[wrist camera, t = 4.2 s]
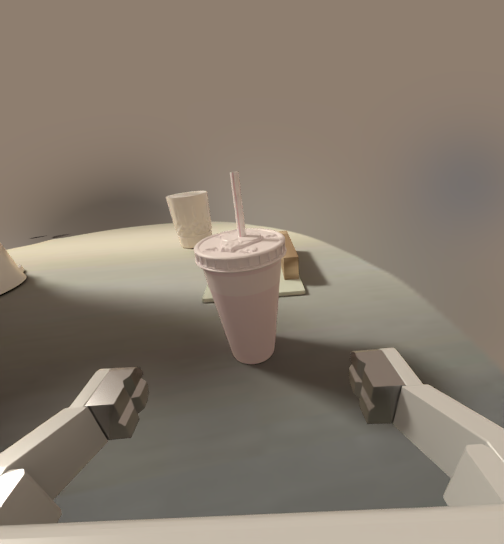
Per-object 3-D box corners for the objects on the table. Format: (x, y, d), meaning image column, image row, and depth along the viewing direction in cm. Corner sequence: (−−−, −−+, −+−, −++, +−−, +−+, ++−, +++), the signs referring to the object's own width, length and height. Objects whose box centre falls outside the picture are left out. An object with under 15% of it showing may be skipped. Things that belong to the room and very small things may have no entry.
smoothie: (297, 329, 22) (292, 164, 16) (280, 387, 17) (265, 172, 11) (234, 320, 24) (210, 172, 18) (201, 368, 19) (152, 182, 13)
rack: (208, 286, 30) (203, 265, 29) (220, 254, 41) (217, 237, 40) (298, 278, 30) (298, 256, 29) (287, 247, 40) (286, 230, 39)
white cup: (170, 248, 49) (156, 198, 44) (195, 236, 55) (185, 191, 51) (199, 251, 45) (188, 196, 41) (223, 238, 51) (215, 189, 47)
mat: (202, 302, 28) (202, 299, 28) (220, 254, 42) (220, 251, 42) (305, 294, 27) (305, 290, 27) (287, 247, 42) (287, 245, 42)
